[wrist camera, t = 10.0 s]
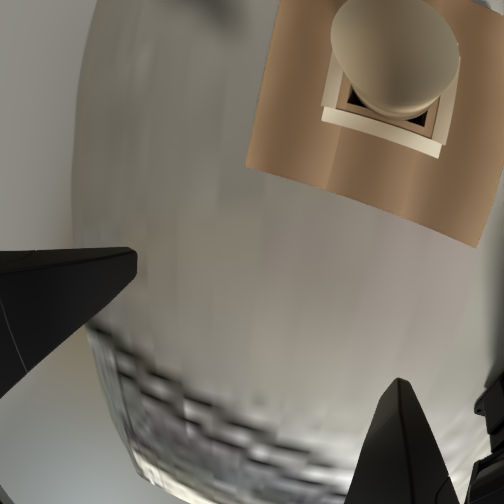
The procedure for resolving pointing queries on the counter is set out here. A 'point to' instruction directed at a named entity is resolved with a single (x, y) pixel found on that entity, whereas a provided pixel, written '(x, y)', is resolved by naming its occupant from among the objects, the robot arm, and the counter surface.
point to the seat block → (385, 123)
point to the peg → (395, 54)
